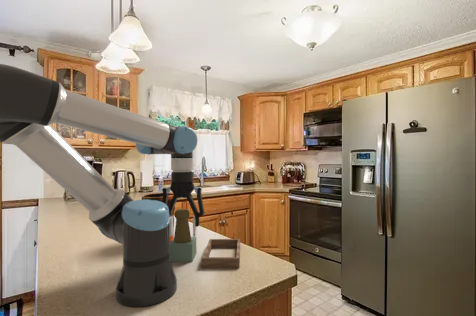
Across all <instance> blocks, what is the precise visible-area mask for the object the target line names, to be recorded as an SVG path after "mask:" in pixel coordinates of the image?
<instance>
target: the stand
mask: <svg viewBox="0 0 476 316" xmlns="http://www.w3.org/2000/svg"><path fill="white" fill-rule="evenodd" d="M196 256H197V236H195V237H193V236H191V241H190V242H187V243H175V242H174V238H173V240H172V241H171V242H170V262H171V263H174V262H175V263H181V262H183V263H186V262H187V263H188V262H189V263H191V262H193V261H194V259H195V257H196Z"/></svg>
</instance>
